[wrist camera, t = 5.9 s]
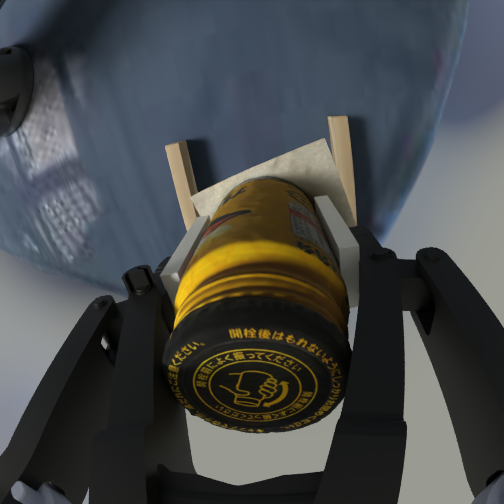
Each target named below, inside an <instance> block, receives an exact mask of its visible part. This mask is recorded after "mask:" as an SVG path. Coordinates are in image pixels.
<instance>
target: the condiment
mask: <svg viewBox="0 0 504 504" xmlns="http://www.w3.org/2000/svg"><path fill="white" fill-rule="evenodd" d="M325 195H327V196H328V197H329V199H330V200H331V202H332V203H333V205H334V206H335V208H336V209H337V211H338V212H339V214H340V215H341V217H342V219H343V220H344V222H345V223H346V225H347V226H348V227H354V226H357V225H356V222H355V219H354V216H353V213H352V210H351V207H350V205H349V202H348V199H347V196H346V193H345V190H344V188H343V185H342V182H341V179H340V176H339V174H338V171H337V168H336V166H335V164H334V161H333V159H332V156H331V153H330V151H329V148H328V146H327V143H326V141H325V138H323V139H321V140H318V141H315V142H313V143H311V144H308V145H305V146H303V147H300V148H298V149H295V150H293V151H291V152H288V153H286V154H284V155H281V156H278V157H276V158H274V159H271V160H269V161H267V162H264V163H262V164H260V165H257V166H255V167H252V168H250V169H248V170H246V171H243V172H241V173H239V174H237V175H235V176H232V177H230V178H228V179H226V180H224V181H222V182H219V183H217V184H215V185H213V186H211V187H209V188H207V189H205V190H203V191H201V192H199V193H197V194H195V195H193V196H191V197H190V199H191V200H192V202H193V204H194V206H195V208H196V209H197V211H198V213H199V215H200V216H206V215H209V216H210V220H211V221H210V223H209V225H208V227H207V229H206V230H205V232H204V234H203V235H202V238H201V241H200V243H199V245H198V247H197V249H196V251H195V253H194V255H193V257H192V259H191V261H190V262H189V264H188V266H187V268H186V270H185V272H184V274H183V276H182V278H181V281H180V284H179V287H178V290H177V293H176V298H175V305H174V314H175V321H174V329H173V331H172V334H171V336H170V339H168V340H167V342H166V346H165V351H164V353H163V361H162V370H163V373H164V378H165V382H166V384H167V385H168V387H169V389H170V391H171V393H172V394H173V396H174V397H175V398H176V399H177V400H178V401H179V402H180V403H181V404H182V406H183V407H185V408H186V409H187V410H189V412H190V413H191V415H194V416H198V417H200V418H202V419H204V420H205V421H207V422H210V423H211V424H213V425H216V426H219V427H222V428H225V429H230V430H237V431H242V432H246V433H270V432H286V431H292V430H296V429H300V428H303V427H306V426H308V425H311V424H314V423H317V422H318V421H320V420H321V419H323V418H324V417H326V416H327V415H329V414H330V413H331V412H332V411H333V410H334V409H335V408H336V407H337V405H338V404H339V403H340V402H341V401H342V400H343V398H344V397H345V392H346V387H347V381H348V376H349V370H350V364H351V358H352V350H351V348H350V344H349V341H348V335H349V334H348V326H347V325H348V319H349V314H350V311H349V309H350V306H349V298H348V294H347V287H346V285H345V282H344V280H343V278H342V276H341V273H340V271H339V268H338V266H337V263H336V261H335V258H334V255H333V254H332V251H331V248H330V245H329V242H328V239H327V237H326V234H325V232H324V230H323V228H322V225H321V222H320V220H319V218H318V216H317V214H316V208H315V200H314V197H318V196H325Z"/></svg>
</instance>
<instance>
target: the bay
mask: <svg viewBox="0 0 504 504" xmlns="http://www.w3.org/2000/svg"><path fill="white" fill-rule="evenodd" d="M327 118H328V125H329V132H330V140H331V148H332V156H333V161H334V164H335V166H336V168H337V171H338V174H339V176H340V179H341V182H342V185H343V188H344V190H345V193H346V196H347V199H348V202H349V205H350V207H351V210H352V213H353V216H354V219H355V222H356V225H357V221H356V201H355V185H354V173H353V162H352V152H351V142H350V134H349V126H348V118H347V116H341V115H340V116H327ZM165 148H166V152H167V156H168V160H169V165H170V169H171V173H172V177H173V181H174V185H175V188H176V192H177V196H178V200H179V204H180V207H181V211H182V215H183V218H184V222H185V226H186V229H187V232H188V230H189V229H190V227H191V226H192V224H193V223H194V221H195V220H196V218H197V217H201V216H200V215H199V213H198V211H197V209H196V208H195V206H194V204H193V202H192V200H191V199H190V197H191V196H193V195H195V194H197V193H198V191H197V186H196V182H195V178H194V174H193V170H192V165H191V161H190V157H189V152H188V148H187V143H186V140H184V141H180V142H176V143H172V144H170V145H167V146H165Z"/></svg>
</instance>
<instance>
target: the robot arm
mask: <svg viewBox="0 0 504 504" xmlns="http://www.w3.org/2000/svg"><path fill="white" fill-rule="evenodd" d="M5 1H6V0H0V9H1V7H2V6H3V4H4V2H5ZM33 78H34V75H33V65H32V61H31V58H30V56H29V54H28V53H27V52H26V50H24V49H23V48H20V47H4V48H1V49H0V138H3V137H6V136H8V135H10V134H11V133H13V132H14V131H15V130H16V128H17V127H18V126H19V124H20V123H21V121H22V120H23V118H24V116H25V113H26V111H27V109H28V106H29V103H30V99H31V95H32V89H33ZM314 200H315V208H316V214H317V216H318V218H319V220H320V222H321V225H322V228H323V230H324V232H325V234H326V237H327V239H328V242H329V245H330V248H331V251H332V254H333V255H334V258H335V261H336V263H337V266H338V268H339V271H340V273H341V276H342V278H343V280H344V282H345V285H346V287H347V294H348V298H349V306H350V308H351V307H356V306H358V314H357V323H356V330H355V338H354V346H353V351H352V358H351V364H350V370H349V376H348V381H347V387H346V392H345V397H344V402H343V407H342V412H341V416H340V418H339V419H338V422H337V424H336V428H335V432H334V436H333V440H332V444H331V448H330V451H329V455H328V459H327V462H326V466H325V469H324V471H321V472H313V473H304V474H292V475H282V476H279V477H275V478H271V479H267V480H263V481H259V482H255V483H251V484H245V485H239V486H237V485H231V484H227V483H224V482H221V481H217V480H213V479H211V478H207V477H204V476H201V475H198V474H197V473H196V471H195V469H194V466H193V462H192V456H191V449H190V443H189V437H188V429H187V421H186V413H185V407H183V406H182V404H181V403H180V402H179V401H178V400H177V399H176V398H175V397H174V396H173V394H172V393H171V391H170V389H169V387H168V385H167V384H166V382H165V378H164V373H163V370H162V361H163V353H164V351H165V346H166V342H167V340H168V339H170V336H171V334H172V331H173V329H174V321H175V314H174V305H175V298H176V293H177V290H178V287H179V284H180V281H181V278H182V276H183V274H184V272H185V270H186V268H187V266H188V264H189V262H190V261H191V259H192V257H193V255H194V253H195V251H196V249H197V247H198V245H199V243H200V241H201V238H202V235H203V234H204V232H205V230H206V229H207V227H208V225H209V223H210V221H211V220H210V216H209V215H206V216H201V217H197V218H196V220H195V221H194V223H193V224H192V226H191V227H190V229H189V230H188V232H187V233H186V235H185V236H184V238H183V240H182V241H181V243H180V244H179V246H178V247H177V249H176V251H175V252H174V254H173V255H172V256H170V257H167V258H166V259H164V260H163V261H162V262H161V263H160V264H159V266H158V267H157V269H156V271H155V272H154V274H153V273H152V270H151V268H150V266H148V265H141V266H137V267H134V268H132V269H130V270H128V271H127V272H126V273H124V274H123V276H122V280H123V282H124V284H125V286H126V289H127V291H128V293H129V297H128V300H126V301H123V302H119V303H115V301H114V299H113V297H112V296H110V295H105V296H100V297H99V298H96V299H95V300H94V301H93V302H92V303H91V304H90V305H89V306H88V308H87V309H86V311H85V312H84V313H83V315H82V316H81V318H80V319H79V321H78V322H77V324H76V325H75V327H74V328H73V330H72V331H71V333H70V334H69V336H68V338H67V339H66V341H65V342H64V344H63V345H62V347H61V348H60V350H59V352H58V353H57V355H56V356H55V358H54V360H53V361H52V363H51V365H50V366H49V368H48V370H47V372H46V373H45V375H44V377H43V378H42V380H41V382H40V384H39V386H38V387H37V389H36V391H35V393H34V395H33V397H32V398H31V400H30V402H29V404H28V406H27V408H26V410H25V412H24V414H23V415H22V418H21V419H20V422H19V424H18V426H17V428H16V430H15V432H14V434H13V436H12V438H11V441H10V443H9V445H8V447H7V448H6V450H5V451H4V452H3V454H2V455H1V456H0V504H82V503H83V501H84V498H85V496H86V494H87V491H88V488H89V504H397V502H398V497H399V492H400V486H401V480H402V473H403V466H404V457H405V448H406V438H407V425H406V422H405V421H404V419H403V411H404V386H405V357H404V356H405V354H404V329H403V328H404V327H403V313H402V311H410V312H411V316H412V318H413V320H414V322H415V325H416V327H417V329H418V331H419V334H420V336H421V338H422V341H423V343H424V345H425V348H426V350H427V353H428V355H429V358H430V360H431V363H432V365H433V368H434V371H435V373H436V376H437V379H438V381H439V384H440V387H441V390H442V392H443V396H444V399H445V402H446V405H447V407H448V411H449V414H450V417H451V420H452V424H453V427H454V431H455V434H456V438H457V442H458V446H459V449H460V453H461V457H462V462H463V466H464V470H465V473H466V477H467V481H468V483H469V486H470V488H471V491H472V493H473V495H474V497H475V499H474V501H473V502H472V504H504V328H503V326H502V325H501V323H500V322H499V320H498V319H497V318H496V316H495V314H494V313H493V312H492V310H491V309H490V307H489V306H488V305H487V303H486V302H485V300H484V299H483V298H482V297H481V295H480V294H479V292H478V291H477V290H476V289H475V287H474V286H473V285H472V283H471V282H470V281H469V280H468V278H467V277H466V276H465V275H464V273H463V272H462V271H461V270H460V269H459V267H458V266H457V265H456V264H455V263H454V262H453V260H452V259H451V258H450V257H449V256H448V254H447V253H445V252H444V251H443V250H440V249H438V248H433V247H430V248H423V249H420V250H419V251H417V254H416V260H405V259H397V257H396V254H395V252H394V251H392V250H390V249H387V248H382V246H381V245H380V244H379V242H378V241H377V240H376V239H375V237H374V236H373V235H372V233H371V232H370V230H369V229H368V228H365V227H363V226H354V227H348V226H347V225H346V223H345V222H344V220H343V219H342V217H341V215H340V214H339V212H338V211H337V209H336V208H335V206H334V205H333V203H332V202H331V200H330V199H329V197H328V196H327V195H325V196H318V197H314ZM102 337H103V338H104V340H105V342H106V343H107V345H108V346H107V348H106V349H104V348H103V346H102V344H101V340H102Z"/></svg>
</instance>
